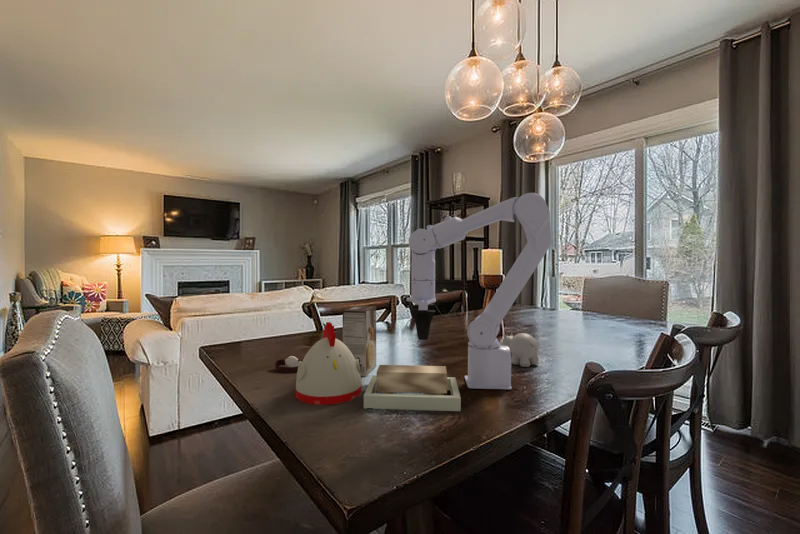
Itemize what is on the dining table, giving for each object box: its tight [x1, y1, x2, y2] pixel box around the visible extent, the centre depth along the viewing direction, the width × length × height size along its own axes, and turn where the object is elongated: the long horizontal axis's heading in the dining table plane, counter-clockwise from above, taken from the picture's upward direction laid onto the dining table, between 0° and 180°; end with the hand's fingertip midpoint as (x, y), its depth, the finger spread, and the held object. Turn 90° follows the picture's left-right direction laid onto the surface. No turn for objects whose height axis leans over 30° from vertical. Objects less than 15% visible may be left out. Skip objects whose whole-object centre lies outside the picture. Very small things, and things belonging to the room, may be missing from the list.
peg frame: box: [363, 374, 462, 412], centre depth 78 cm, size 18×12×2 cm
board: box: [376, 364, 448, 394], centre depth 78 cm, size 14×5×4 cm, turn 86°
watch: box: [274, 355, 303, 373], centre depth 97 cm, size 8×5×4 cm, turn 85°
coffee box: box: [342, 305, 377, 377], centre depth 97 cm, size 9×6×16 cm
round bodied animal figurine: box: [499, 332, 540, 368], centre depth 105 cm, size 7×12×8 cm, turn 30°
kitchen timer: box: [295, 321, 363, 406], centre depth 81 cm, size 14×14×15 cm
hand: (422, 336), depth 92 cm, fingers open, 7 cm apart
